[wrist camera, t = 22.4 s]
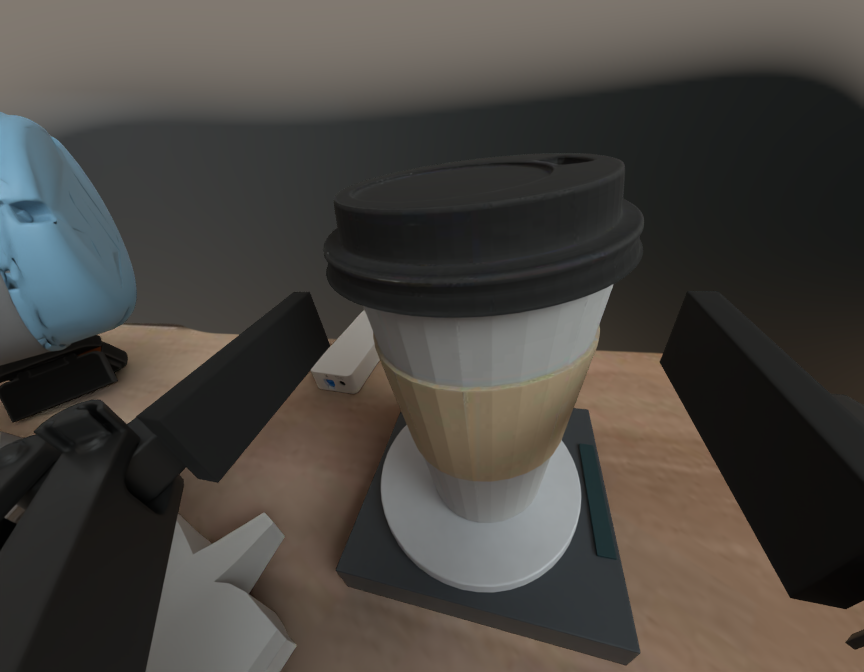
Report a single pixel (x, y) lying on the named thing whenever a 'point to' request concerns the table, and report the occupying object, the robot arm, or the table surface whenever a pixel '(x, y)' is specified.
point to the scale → (500, 551)
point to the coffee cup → (486, 306)
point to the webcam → (58, 376)
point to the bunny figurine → (218, 604)
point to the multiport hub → (348, 359)
